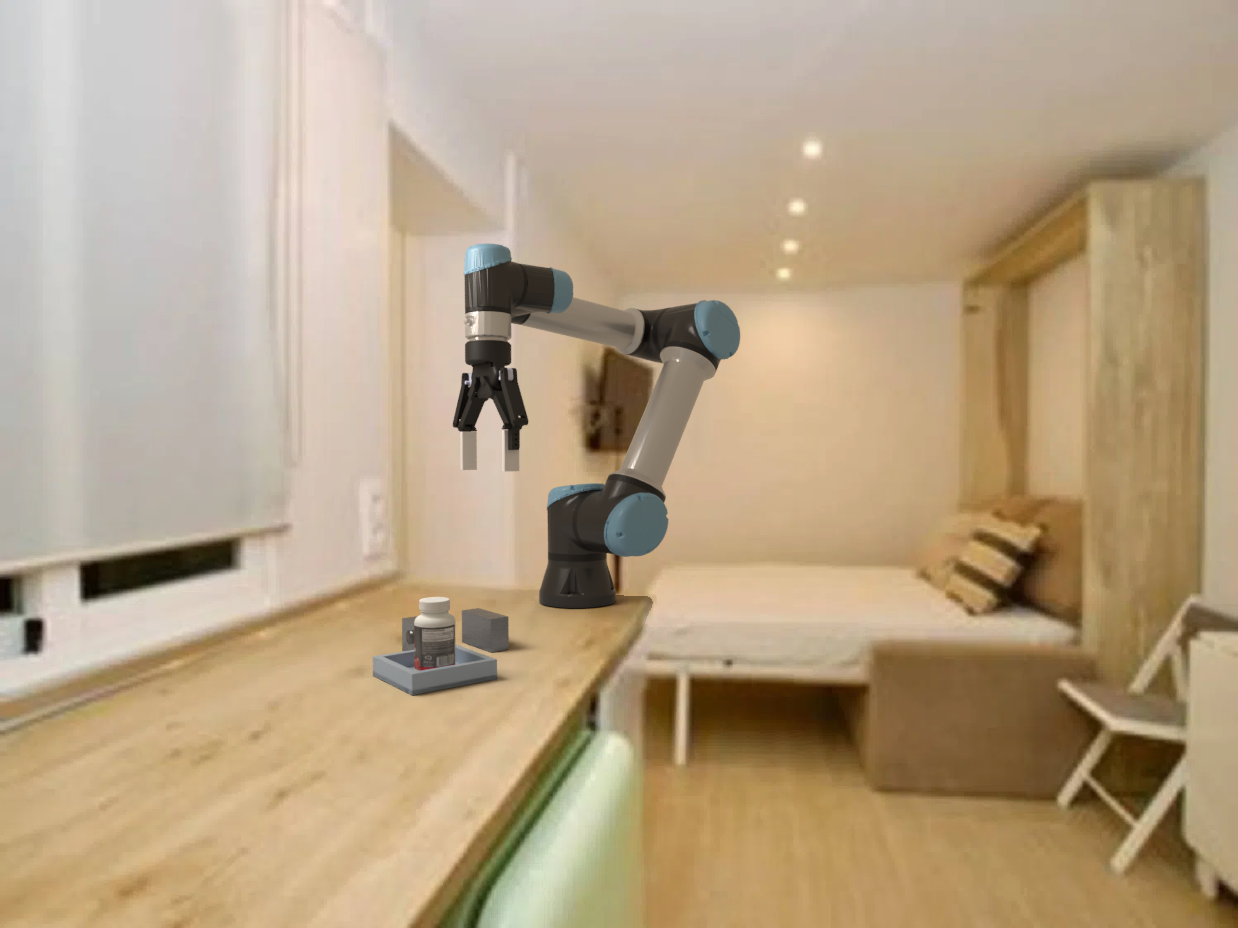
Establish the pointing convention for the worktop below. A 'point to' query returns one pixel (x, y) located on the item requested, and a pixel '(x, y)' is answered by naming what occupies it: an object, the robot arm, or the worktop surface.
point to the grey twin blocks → (470, 630)
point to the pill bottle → (434, 634)
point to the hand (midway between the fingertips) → (488, 470)
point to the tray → (434, 671)
